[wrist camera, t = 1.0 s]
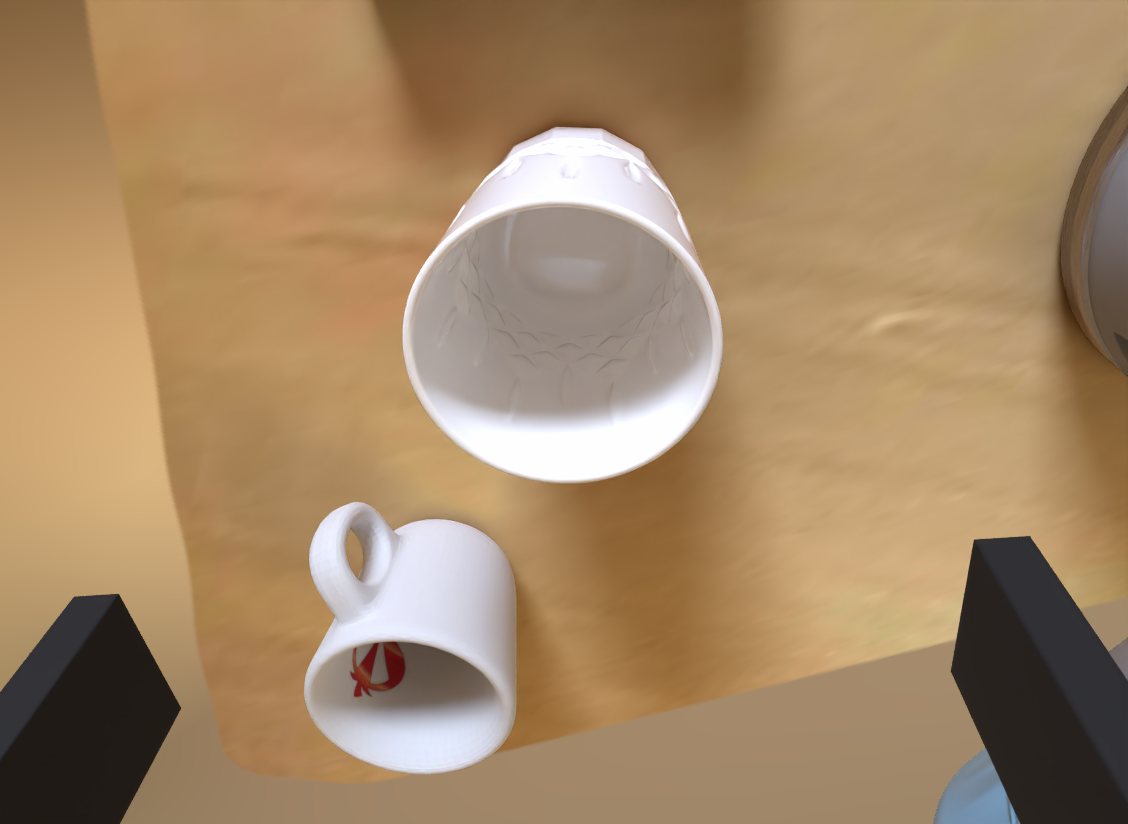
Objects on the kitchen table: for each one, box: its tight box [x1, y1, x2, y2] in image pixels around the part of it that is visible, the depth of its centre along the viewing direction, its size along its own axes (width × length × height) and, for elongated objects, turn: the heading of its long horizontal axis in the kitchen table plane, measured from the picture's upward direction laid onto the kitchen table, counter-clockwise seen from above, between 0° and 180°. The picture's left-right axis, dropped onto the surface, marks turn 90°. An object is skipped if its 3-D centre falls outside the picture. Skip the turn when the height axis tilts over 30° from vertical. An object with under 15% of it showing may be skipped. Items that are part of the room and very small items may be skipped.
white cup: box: [403, 127, 723, 484], centre depth 24 cm, size 8×8×10 cm
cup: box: [304, 502, 517, 774], centre depth 33 cm, size 11×8×8 cm
